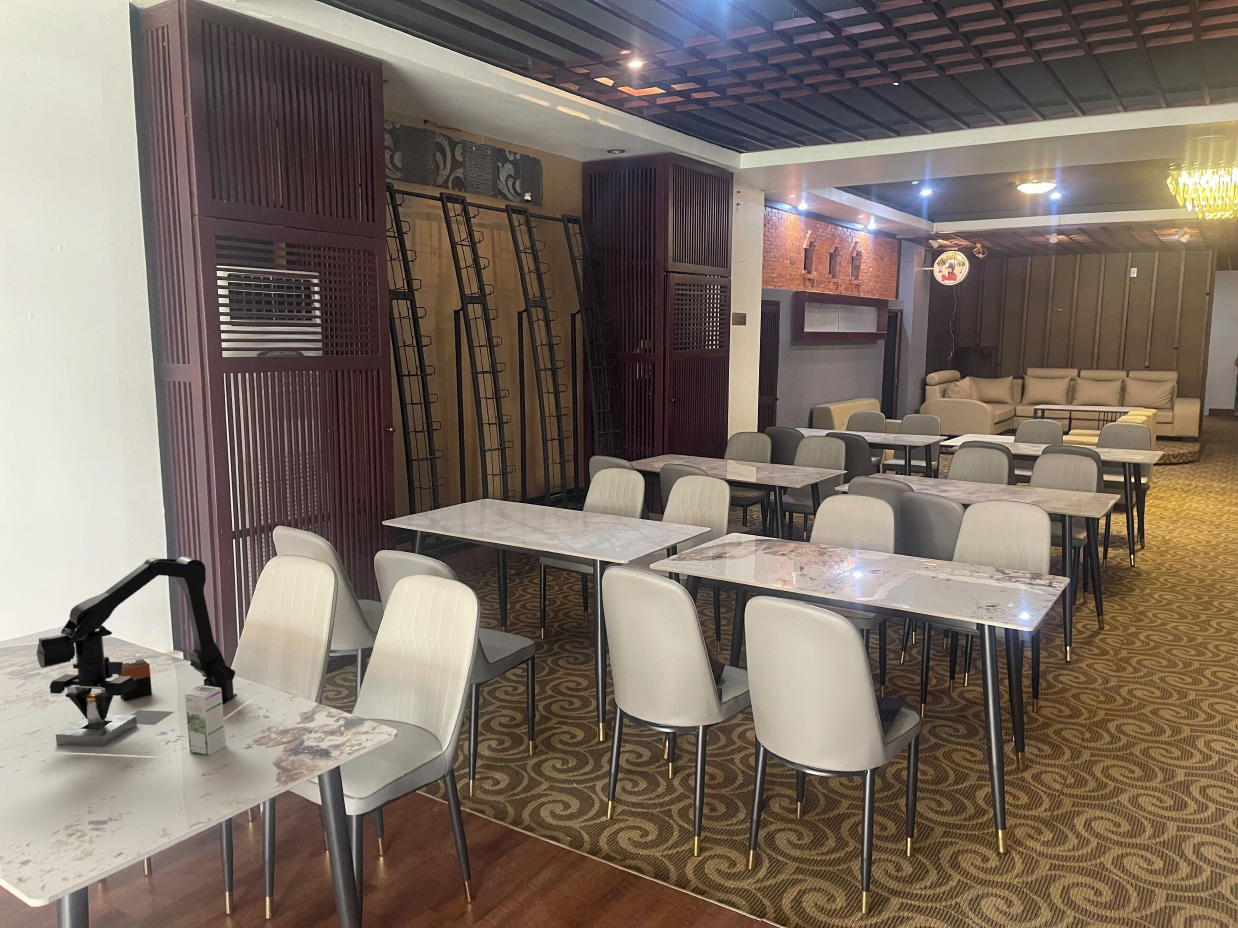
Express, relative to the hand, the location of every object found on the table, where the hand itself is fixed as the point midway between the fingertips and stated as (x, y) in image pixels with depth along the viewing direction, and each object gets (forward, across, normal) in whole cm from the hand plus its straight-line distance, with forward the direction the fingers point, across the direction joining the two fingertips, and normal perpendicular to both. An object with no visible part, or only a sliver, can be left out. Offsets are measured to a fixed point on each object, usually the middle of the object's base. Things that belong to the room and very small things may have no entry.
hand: (96, 718), depth 217 cm
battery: (+5, +7, -24) cm, 25 cm away
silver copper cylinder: (+3, 0, 0) cm, 3 cm away
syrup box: (+5, -31, +4) cm, 32 cm away
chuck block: (+4, 0, 0) cm, 4 cm away
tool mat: (+4, -5, -11) cm, 13 cm away
